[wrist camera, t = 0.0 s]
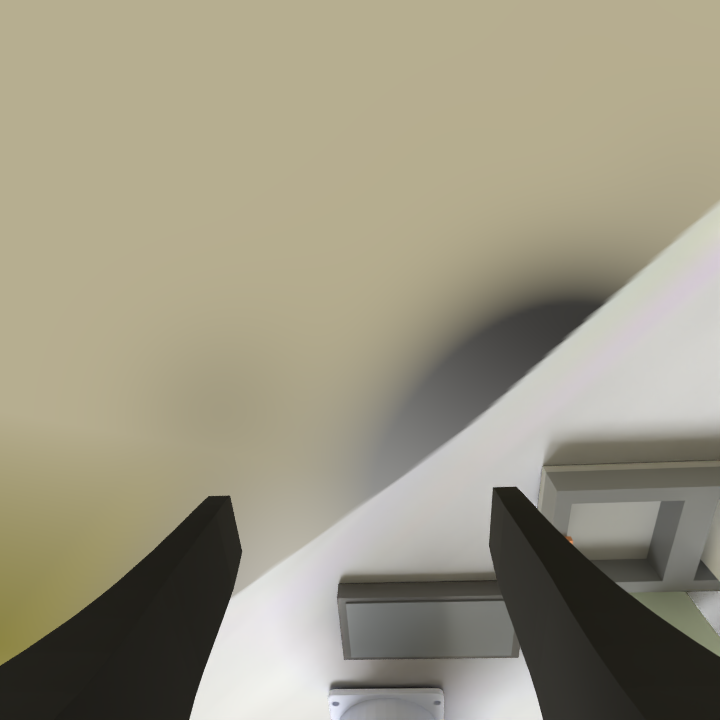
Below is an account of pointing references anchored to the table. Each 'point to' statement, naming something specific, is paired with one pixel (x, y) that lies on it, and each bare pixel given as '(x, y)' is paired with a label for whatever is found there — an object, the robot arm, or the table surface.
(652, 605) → the block
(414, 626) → the phone
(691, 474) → the grey double frame
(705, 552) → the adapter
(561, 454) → the table surface
